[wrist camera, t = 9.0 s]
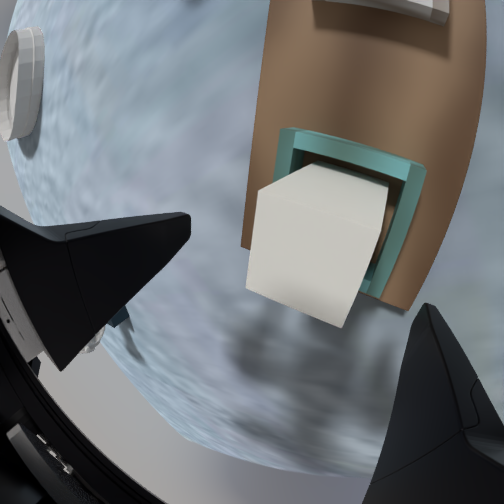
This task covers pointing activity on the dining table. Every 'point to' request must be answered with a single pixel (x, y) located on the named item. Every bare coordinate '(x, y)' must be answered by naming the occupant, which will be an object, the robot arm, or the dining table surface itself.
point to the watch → (113, 322)
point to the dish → (21, 82)
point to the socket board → (375, 115)
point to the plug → (316, 239)
